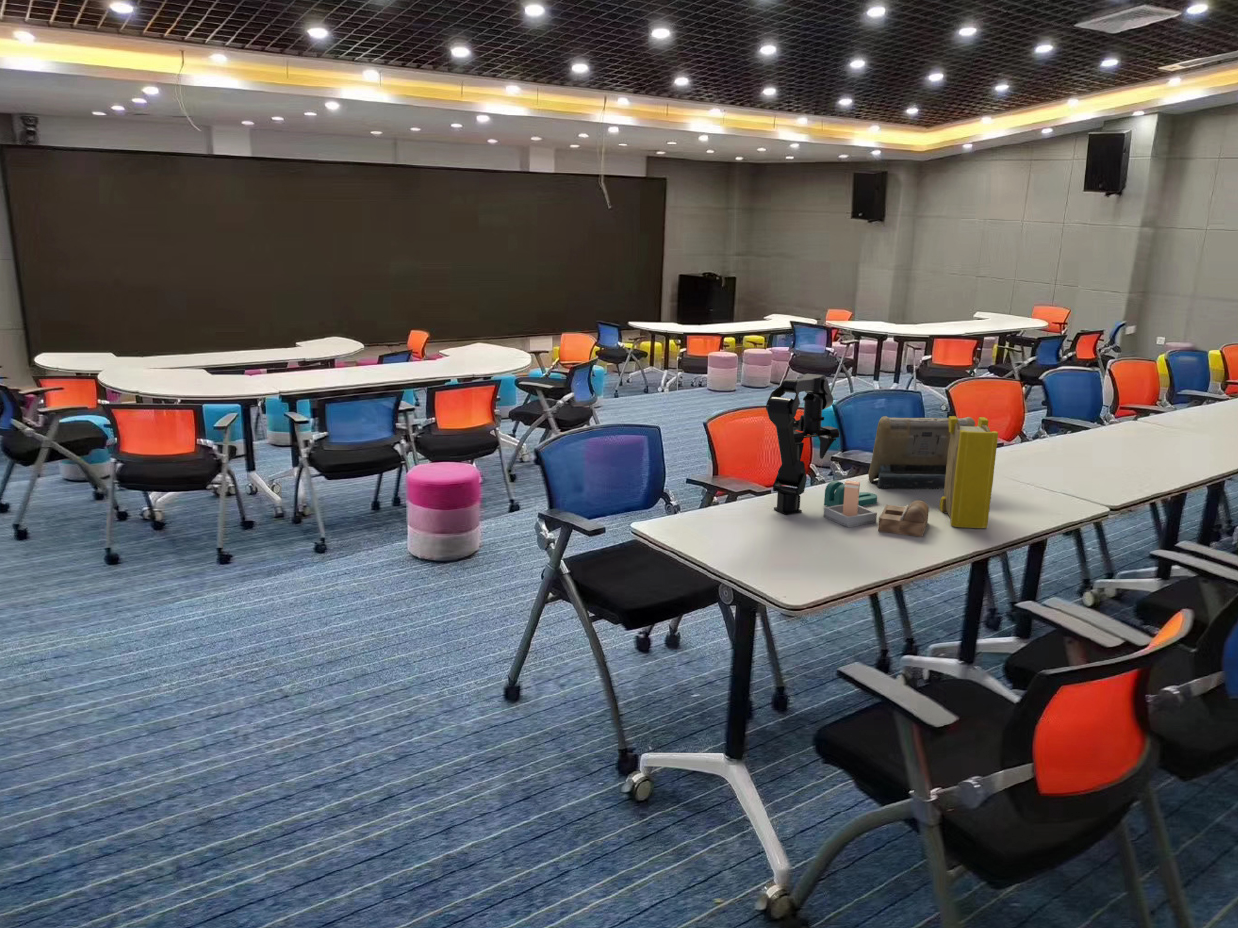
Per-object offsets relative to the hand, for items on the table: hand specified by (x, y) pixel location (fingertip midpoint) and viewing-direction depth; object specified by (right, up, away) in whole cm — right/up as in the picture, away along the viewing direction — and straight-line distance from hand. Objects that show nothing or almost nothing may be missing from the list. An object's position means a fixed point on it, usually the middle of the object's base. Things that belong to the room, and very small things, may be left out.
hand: (809, 460), depth 275 cm
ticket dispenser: (+22, -20, -24) cm, 38 cm away
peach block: (+8, -17, -18) cm, 26 cm away
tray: (+8, -18, -18) cm, 26 cm away
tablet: (+42, -9, +19) cm, 47 cm away
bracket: (+13, -14, -2) cm, 20 cm away
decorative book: (+43, -18, -16) cm, 49 cm away
